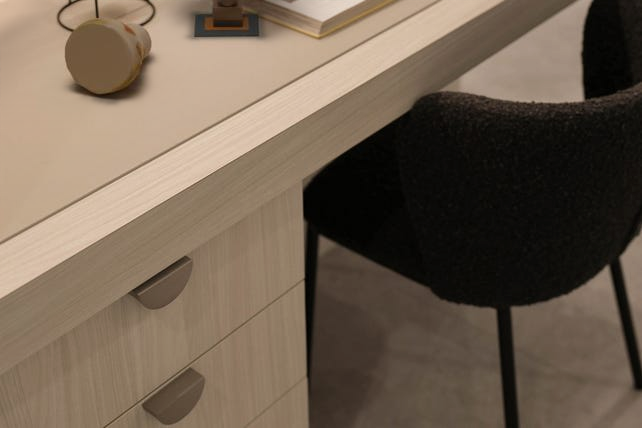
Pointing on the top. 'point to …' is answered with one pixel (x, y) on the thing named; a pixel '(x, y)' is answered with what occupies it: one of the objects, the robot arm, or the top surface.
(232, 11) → the stamp
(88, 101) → the top surface
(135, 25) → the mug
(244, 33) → the mat
